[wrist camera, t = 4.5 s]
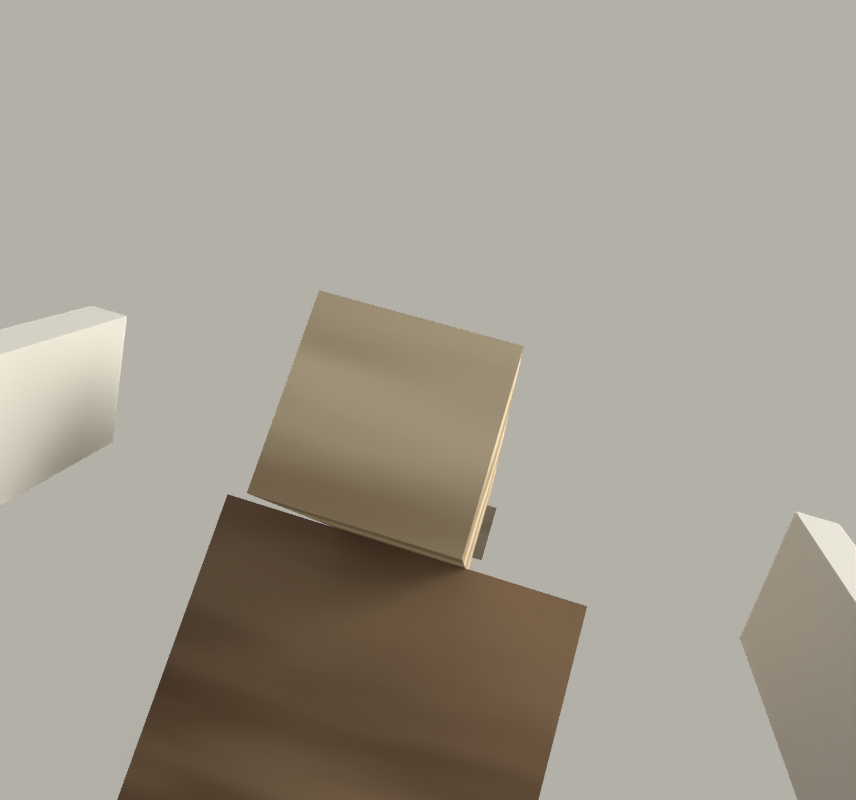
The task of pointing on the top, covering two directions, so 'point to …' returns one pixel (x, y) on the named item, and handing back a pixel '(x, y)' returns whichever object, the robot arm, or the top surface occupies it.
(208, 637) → the stand
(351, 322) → the light wooden bar
